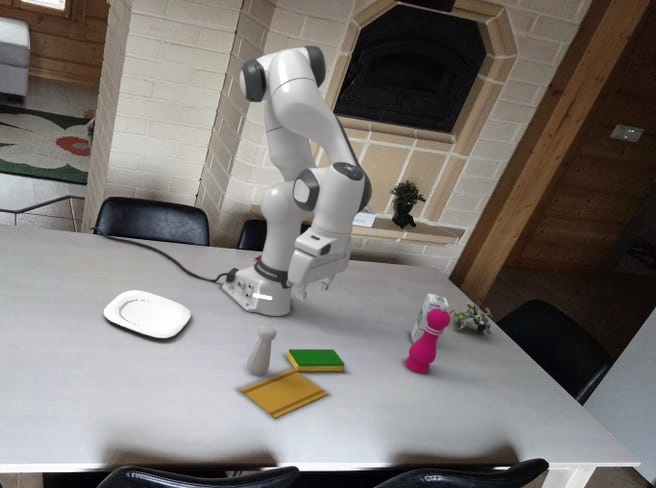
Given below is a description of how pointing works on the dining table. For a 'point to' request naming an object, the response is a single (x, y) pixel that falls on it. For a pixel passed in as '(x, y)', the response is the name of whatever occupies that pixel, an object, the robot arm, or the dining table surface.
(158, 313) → the plate
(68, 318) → the dining table surface
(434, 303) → the syrup box
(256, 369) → the salt shaker
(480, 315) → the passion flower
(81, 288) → the dining table surface
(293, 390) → the cloth
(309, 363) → the dish sponge
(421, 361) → the pepper mill
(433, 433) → the dining table surface
